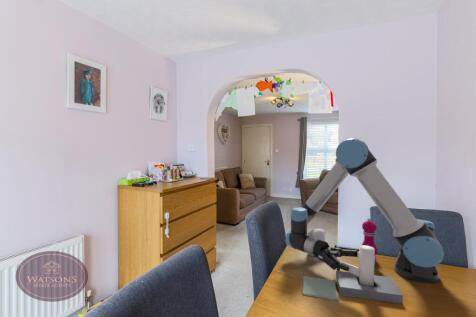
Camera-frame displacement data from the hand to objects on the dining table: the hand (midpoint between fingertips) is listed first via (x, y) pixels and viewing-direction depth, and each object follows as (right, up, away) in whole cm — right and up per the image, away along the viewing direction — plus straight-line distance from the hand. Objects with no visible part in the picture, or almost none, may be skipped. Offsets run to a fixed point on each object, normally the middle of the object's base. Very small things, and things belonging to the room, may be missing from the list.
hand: (367, 265), depth 91 cm
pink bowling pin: (+14, -8, +25) cm, 30 cm away
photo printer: (-9, -8, +33) cm, 35 cm away
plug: (0, -9, +1) cm, 9 cm away
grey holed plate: (0, -9, +1) cm, 9 cm away
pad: (-17, -9, +2) cm, 20 cm away
